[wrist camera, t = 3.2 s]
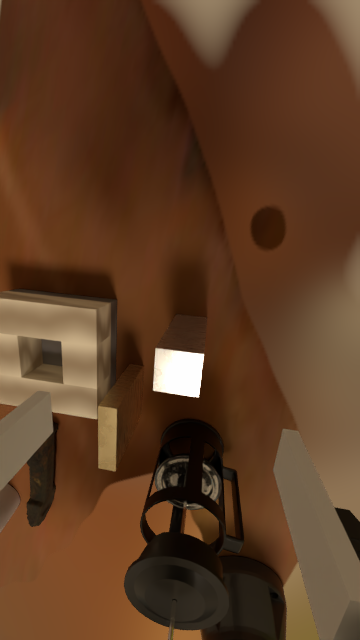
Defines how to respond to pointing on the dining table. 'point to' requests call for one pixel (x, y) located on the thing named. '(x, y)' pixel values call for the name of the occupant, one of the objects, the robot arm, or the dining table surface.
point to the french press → (186, 536)
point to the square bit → (181, 356)
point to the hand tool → (41, 481)
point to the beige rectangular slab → (119, 417)
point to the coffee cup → (8, 504)
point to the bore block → (57, 349)
